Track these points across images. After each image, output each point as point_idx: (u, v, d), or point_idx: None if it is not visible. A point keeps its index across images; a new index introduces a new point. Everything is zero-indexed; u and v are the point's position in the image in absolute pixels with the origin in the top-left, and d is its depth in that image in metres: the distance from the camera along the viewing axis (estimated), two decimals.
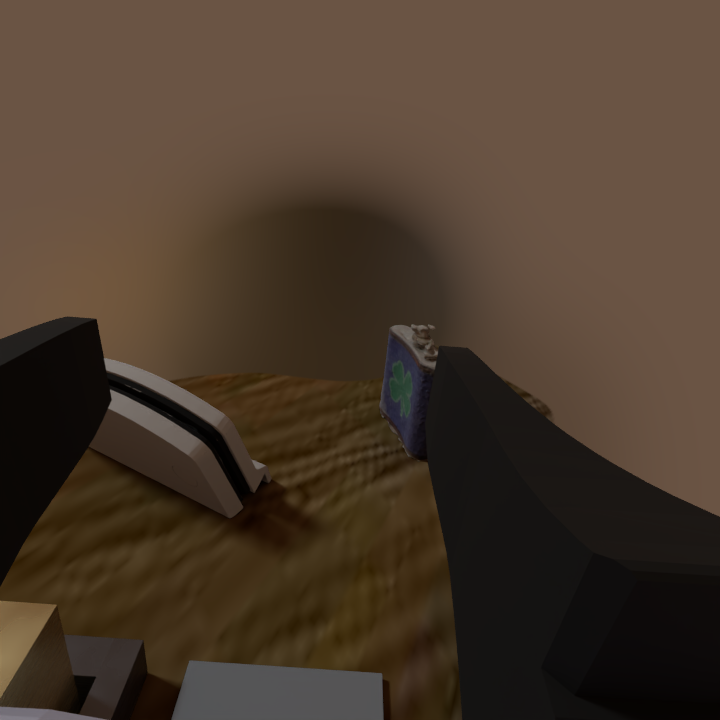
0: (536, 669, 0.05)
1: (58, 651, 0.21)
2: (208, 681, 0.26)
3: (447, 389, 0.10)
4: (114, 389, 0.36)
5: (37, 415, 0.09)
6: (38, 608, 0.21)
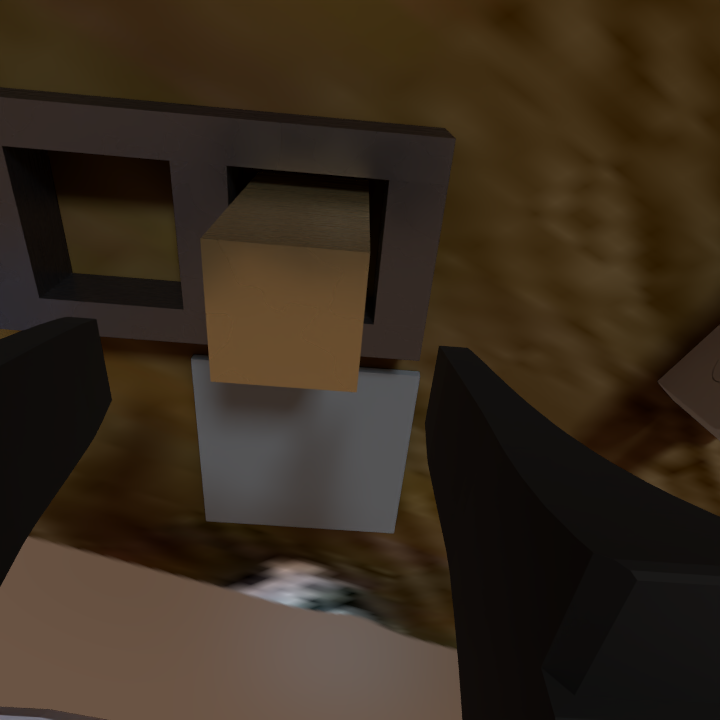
0: (536, 669, 0.05)
1: None
2: (394, 397, 0.24)
3: (447, 389, 0.10)
4: None
5: (37, 415, 0.09)
6: (349, 374, 0.14)
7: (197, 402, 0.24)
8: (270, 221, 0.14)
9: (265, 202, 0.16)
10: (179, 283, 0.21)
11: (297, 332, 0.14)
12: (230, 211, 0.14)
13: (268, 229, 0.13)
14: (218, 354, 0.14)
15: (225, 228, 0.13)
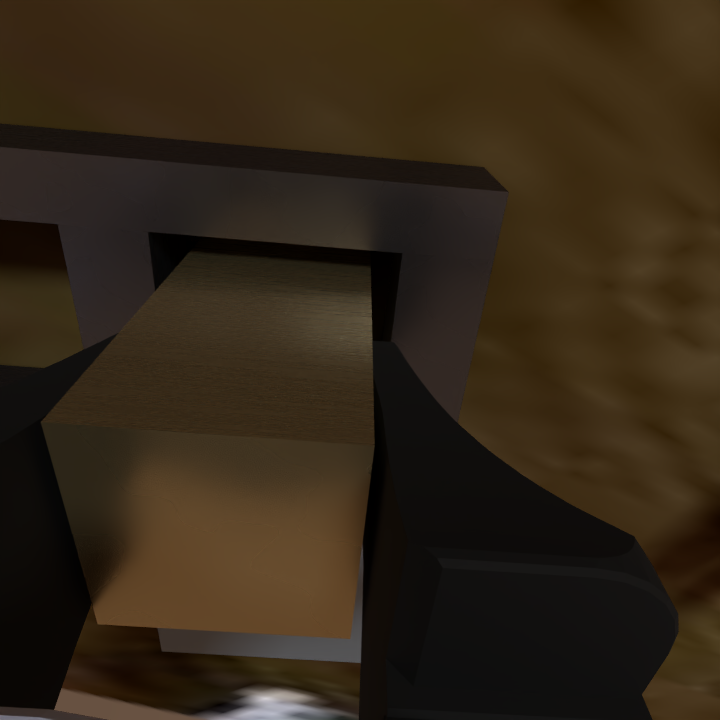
0: (385, 660, 0.05)
1: None
2: None
3: None
4: None
5: None
6: (338, 616, 0.08)
7: None
8: (197, 354, 0.08)
9: (202, 301, 0.09)
10: None
11: (243, 561, 0.07)
12: (133, 329, 0.08)
13: (187, 380, 0.07)
14: (105, 589, 0.08)
15: (106, 382, 0.07)
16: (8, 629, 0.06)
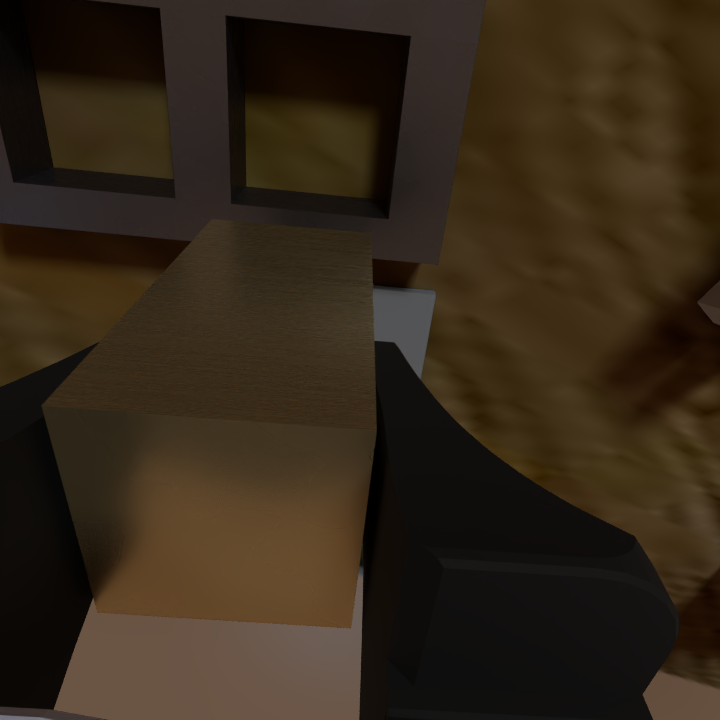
0: (386, 660, 0.05)
1: None
2: (407, 320, 0.22)
3: None
4: None
5: None
6: (337, 605, 0.08)
7: None
8: (199, 340, 0.08)
9: (203, 289, 0.09)
10: (172, 180, 0.19)
11: (243, 548, 0.07)
12: (134, 316, 0.08)
13: (188, 365, 0.07)
14: (105, 577, 0.08)
15: (107, 367, 0.07)
16: (7, 629, 0.06)
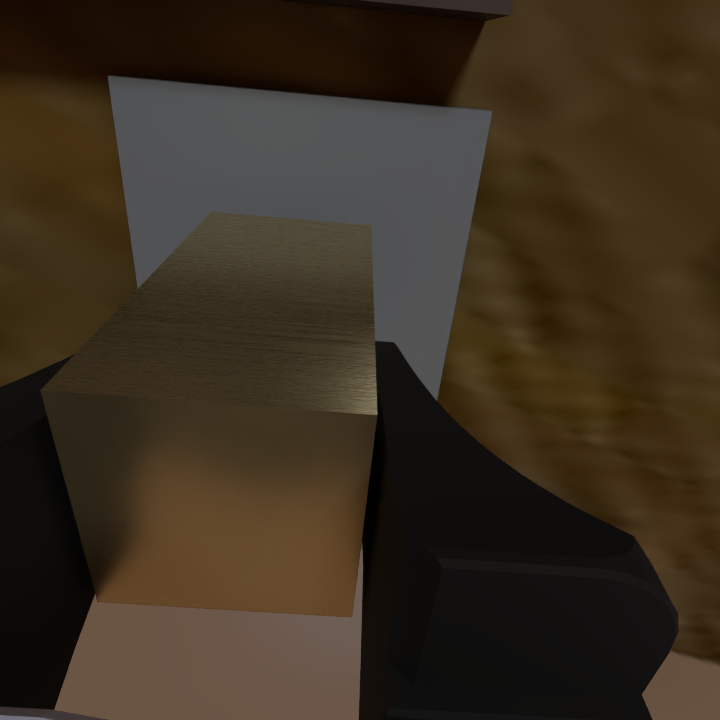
0: (385, 660, 0.05)
1: None
2: (447, 157, 0.14)
3: None
4: None
5: None
6: (339, 593, 0.08)
7: (124, 169, 0.15)
8: (197, 328, 0.08)
9: (202, 279, 0.09)
10: None
11: (244, 536, 0.07)
12: (133, 304, 0.08)
13: (188, 352, 0.07)
14: (105, 566, 0.08)
15: (106, 353, 0.07)
16: (8, 629, 0.06)
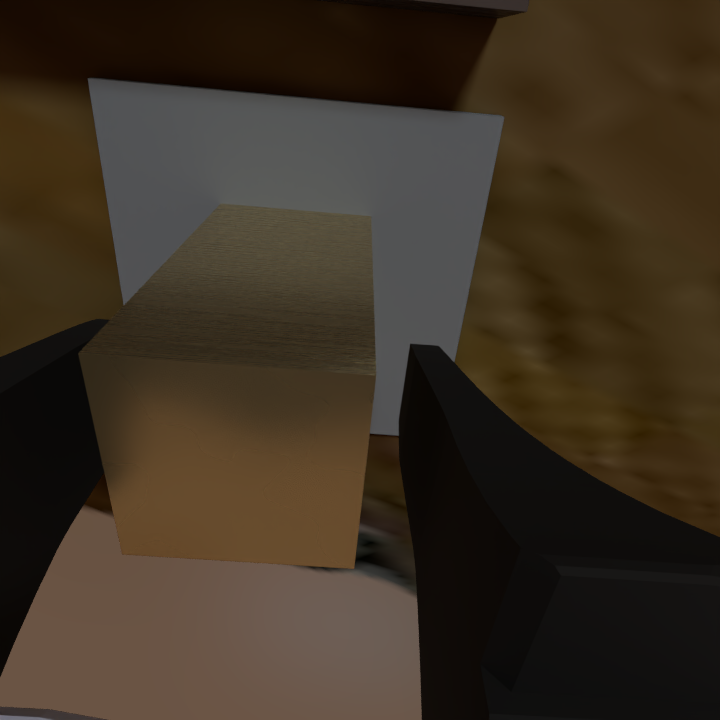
0: (477, 666, 0.05)
1: None
2: (455, 166, 0.13)
3: (415, 386, 0.10)
4: None
5: (72, 417, 0.09)
6: (342, 545, 0.09)
7: (107, 178, 0.14)
8: (214, 304, 0.09)
9: (216, 262, 0.10)
10: None
11: (257, 489, 0.08)
12: (154, 284, 0.09)
13: (206, 323, 0.08)
14: (130, 519, 0.09)
15: (133, 324, 0.08)
16: None
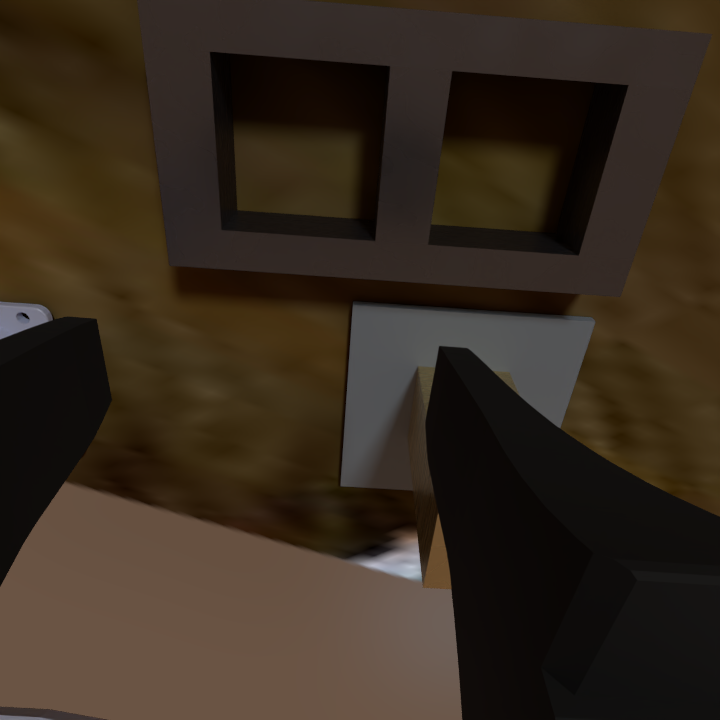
0: (536, 669, 0.05)
1: None
2: (563, 346, 0.22)
3: (447, 389, 0.10)
4: None
5: (36, 415, 0.09)
6: None
7: (352, 354, 0.23)
8: None
9: None
10: (352, 220, 0.20)
11: None
12: None
13: None
14: (434, 571, 0.18)
15: None
16: None
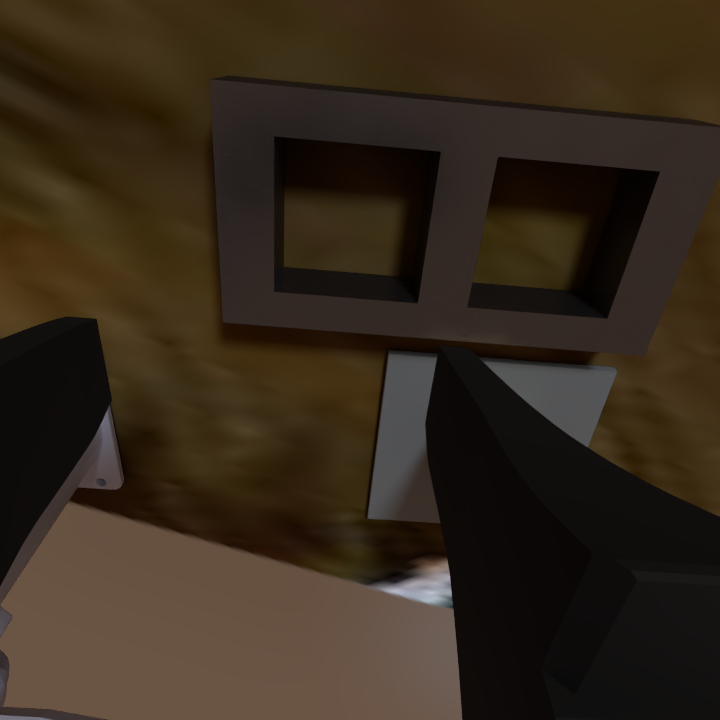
0: (536, 669, 0.05)
1: None
2: (586, 393, 0.23)
3: (447, 389, 0.10)
4: None
5: (37, 414, 0.09)
6: None
7: (385, 398, 0.24)
8: None
9: None
10: (391, 277, 0.21)
11: None
12: None
13: None
14: None
15: None
16: None
